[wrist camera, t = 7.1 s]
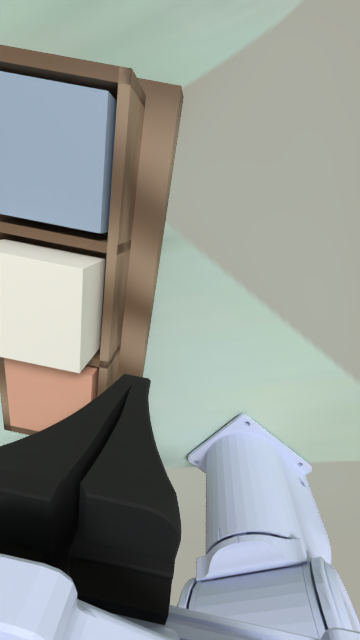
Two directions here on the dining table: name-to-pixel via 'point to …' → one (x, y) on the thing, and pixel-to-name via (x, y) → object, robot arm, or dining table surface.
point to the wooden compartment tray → (113, 206)
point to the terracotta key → (46, 393)
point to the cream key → (49, 305)
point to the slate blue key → (56, 152)
